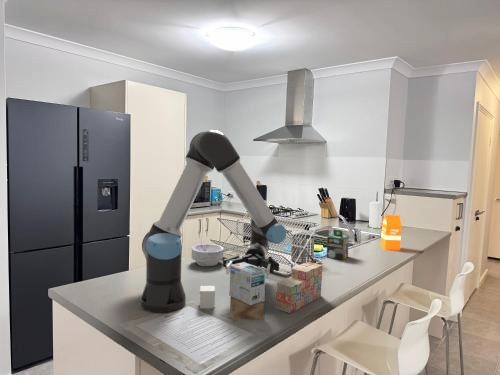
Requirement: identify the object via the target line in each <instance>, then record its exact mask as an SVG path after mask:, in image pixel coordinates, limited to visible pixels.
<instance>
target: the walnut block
mask: <svg viewBox="0 0 500 375" xmlns="http://www.w3.org/2000/svg"><path fill="white" fill-rule="evenodd" d="M229 298H230V299H229V300H230V302H229V305H230V306H229V308H230V313H231V314H230V315H231V320H233V321H236V320H238V321H239V320H264V312H265V304H264V301H262V302H259V303H256V304H253V305H249V304H247V303H244V302H242V301H240V300H238V299H236V298H234V297H231V296H229Z"/></svg>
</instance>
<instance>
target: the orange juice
mask: <svg viewBox="0 0 500 375" xmlns="http://www.w3.org/2000/svg"><path fill="white" fill-rule="evenodd" d="M380 236H381V239H380V247H381V248H382V249H383V250H385V251H400V250H401V241H402V221H401V216H400V215H390V214H384V218H383V219H382V223H381V235H380Z"/></svg>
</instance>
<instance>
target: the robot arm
mask: <svg viewBox="0 0 500 375" xmlns="http://www.w3.org/2000/svg"><path fill="white" fill-rule="evenodd" d="M184 158H185V161H186V165H185V166H184V169H183V170H182V173H181V175H180V177H179V179H178V181H177V183H176V185H175V187H174V189H173V191H172V193H171V196H170V198H169V200H168V202H167V203H166V206H165V208H164V210H163V212H162V214H161V216H160V217H159V220H157V221H154V222H153V223H152V225H151V227H150V229H149V231H148V232H146V234H145V235H144V237H143V238H142V242H141V249H142V253H143V256H144V258H145V262H146V270H145V271H146V274H145V275H146V276H145V277H146V279H145V280H146V281H145V282H146V283H145V286H144V289H143V292H142V294H141V297H140V307H141V309H143V310H144V311H147V312H151V313H169V312H174V311H177V310H179V309H182V308H183V307H184V306H185V305H186V301H187V297H186V292H185V290H184V287H183V283H182V251H183V245H182V244H183V243H182V239H181V238H182V235H183V234H182V232H181V229H182V227H183V225H184V222H185V220H186V218H187V216H188V214H189V212H190V210H191V208H192V206H193V203H194V202H195V199H196V197H197V195H198V194H199V191H200V189H201V187H202V185H203V183H204V181H205V179H206V176H208V174H209V173H211V172H213V171H214V170H216V171H217V173H221V175H223V177H224V178H225V180H226V181H227V183H228V185H230V187H231V190H233V192H234V193H235V195H236V197H237V198H238V200H239V201H240V202H241V204H242V206H243V207H244V208H245V209H246V212H247V213H248V215H249V216H250V237H249V238H250V244H249V247H248V249H247V250H246V252H245V255H242V256H241V255H240V254H238V253H237V254H235V255H233V256H230V257H227V258H224V259H222V267H223V268H225V274H226V275H229V274H230V266H231V265H232V264H238V263H242V262H245V263H248V264H251V265H254V266H257V267H260V268H263V269H266V273H265V279H266V278H268V279H269V277H270V274H273V272H274V271H275V272H279V271H280V263H279V262H277V261H276V260H275V259H274V258H273V256H268V257H267V254H268V252H269V250H270V246H269V243H272V244H275V245H279V244H281V243H283V242H284V241H285V240H286V237H287V228H286V227H285V226H284V225H282V224H281V223H279V222H278V220H277V219H276V218H277V217H275V215H274V213H272V211H271V209H270V207H269V205H267V203H266V201H265V199H264V198H263V196H262V195H261V193H260V192H259V190H258V188H257V187H256V185H255V184H254V182H253V181H252V179H251V178H250V176H249V174H248V173H247V171H246V170H245V168H244V167H243V165H242V164H241V162H240V161H241V157H240V155H239V154H238V152H237V150H236V149H235V147H234V146H233V143H232V142H231V141H230V139H229V138H228V137H227V136H226V135H225V134H224V133H222V132H221V131H219V130H216V129H215V130H213V129H211V130H207V131H201V132H198V133H197V134H196V135H194V136H193V137H192V139H191V140H190V143H189V149H188V151H187V153H186V155H185V157H184ZM266 257H267V258H266Z"/></svg>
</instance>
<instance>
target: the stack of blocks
mask: <svg viewBox="0 0 500 375" xmlns="http://www.w3.org/2000/svg"><path fill="white" fill-rule="evenodd" d="M290 274H291V275H290V276H289V277H287V278H284V279H283V280H279V281H278V282H277V283H276V292H275V293H276V294H275V309H276V310H279V311H282V312H285V313H288V314H291V313H294V312H295V311H297V310H299V309H301V308H303V307H305V306H306V305H308V304H309V303H311V302H313V301H315V300H317V299H318V298H320V297H322V281H323V264H319V263H314V262H310V261H307V262H303V263H301V264H299V265H297V266H293V267H291V273H290Z"/></svg>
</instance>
